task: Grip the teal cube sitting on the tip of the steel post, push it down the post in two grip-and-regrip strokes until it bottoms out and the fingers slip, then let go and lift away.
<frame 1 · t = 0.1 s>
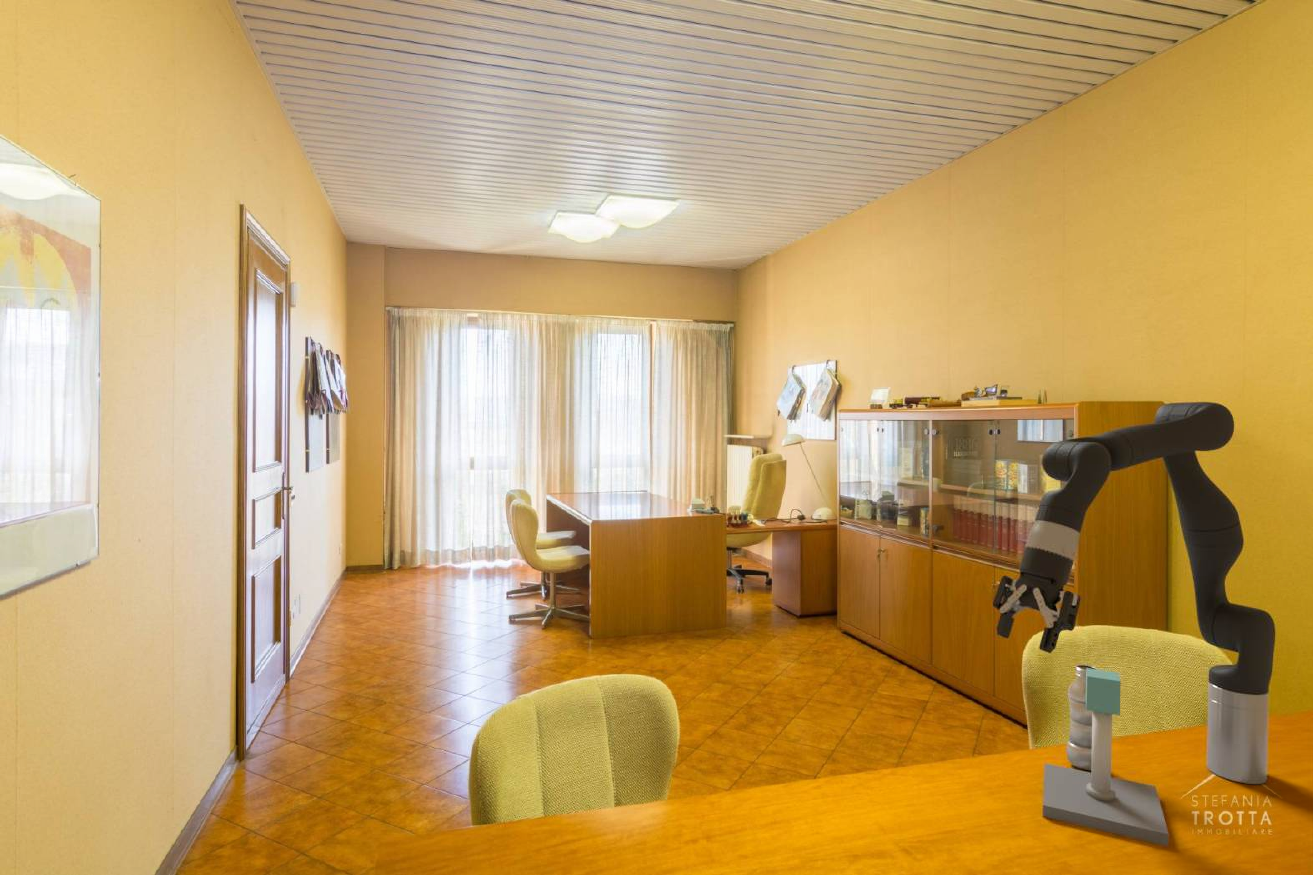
hand: (1022, 643, 121), 31 cm above the table, tool tilted 20°, fingers open, 8 cm apart
teal cube: (1102, 691, 129), point 21 cm above the table, slide at 4.5 cm
post stand: (1100, 806, 129), on the table
plastic bottle: (1084, 767, 144), on the table
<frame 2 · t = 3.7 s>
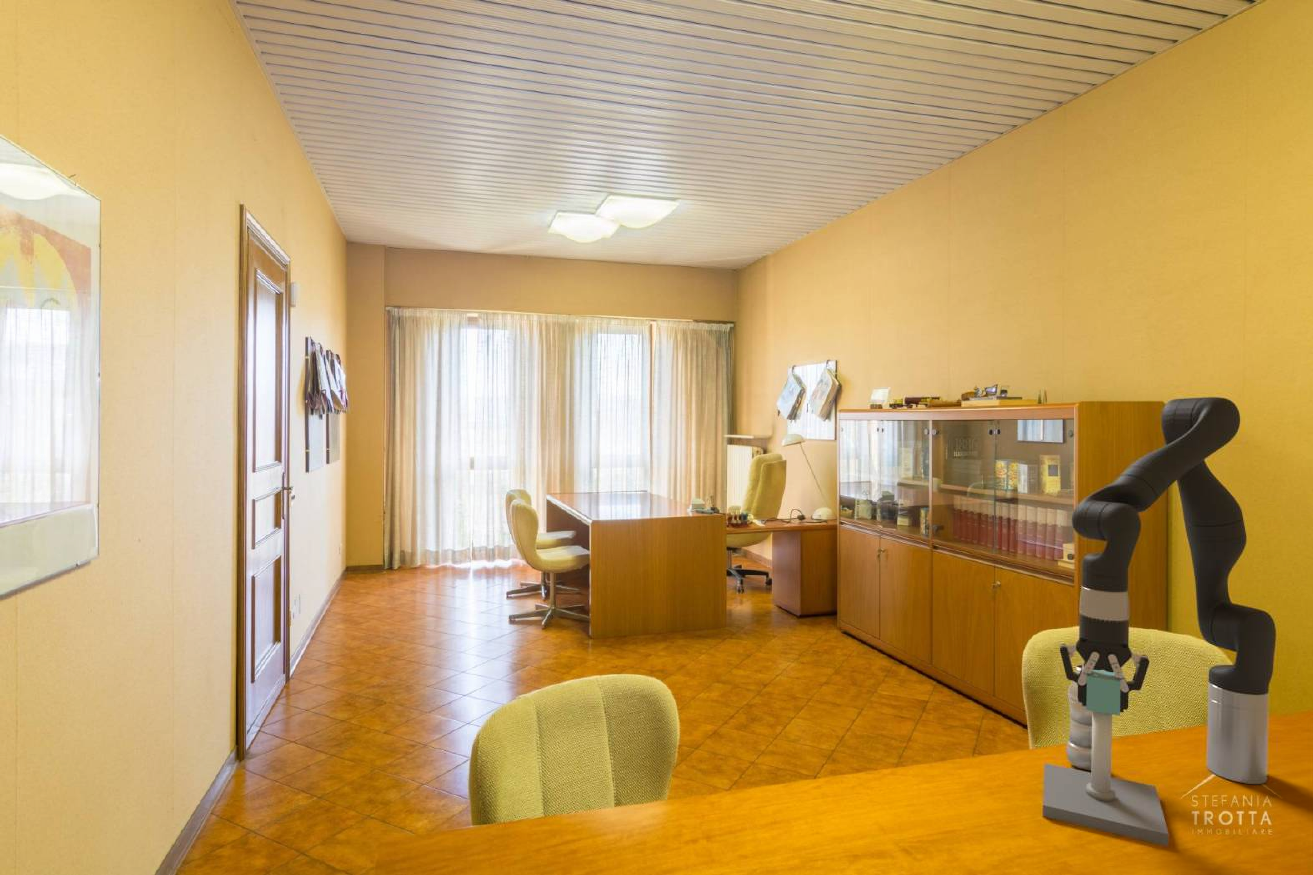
hand: (1102, 707, 129), 18 cm above the table, tool pointing down, fingers closed on teal cube, 5 cm apart
teal cube: (1102, 691, 129), point 21 cm above the table, slide at 4.5 cm, touching gripper
everything else where it was.
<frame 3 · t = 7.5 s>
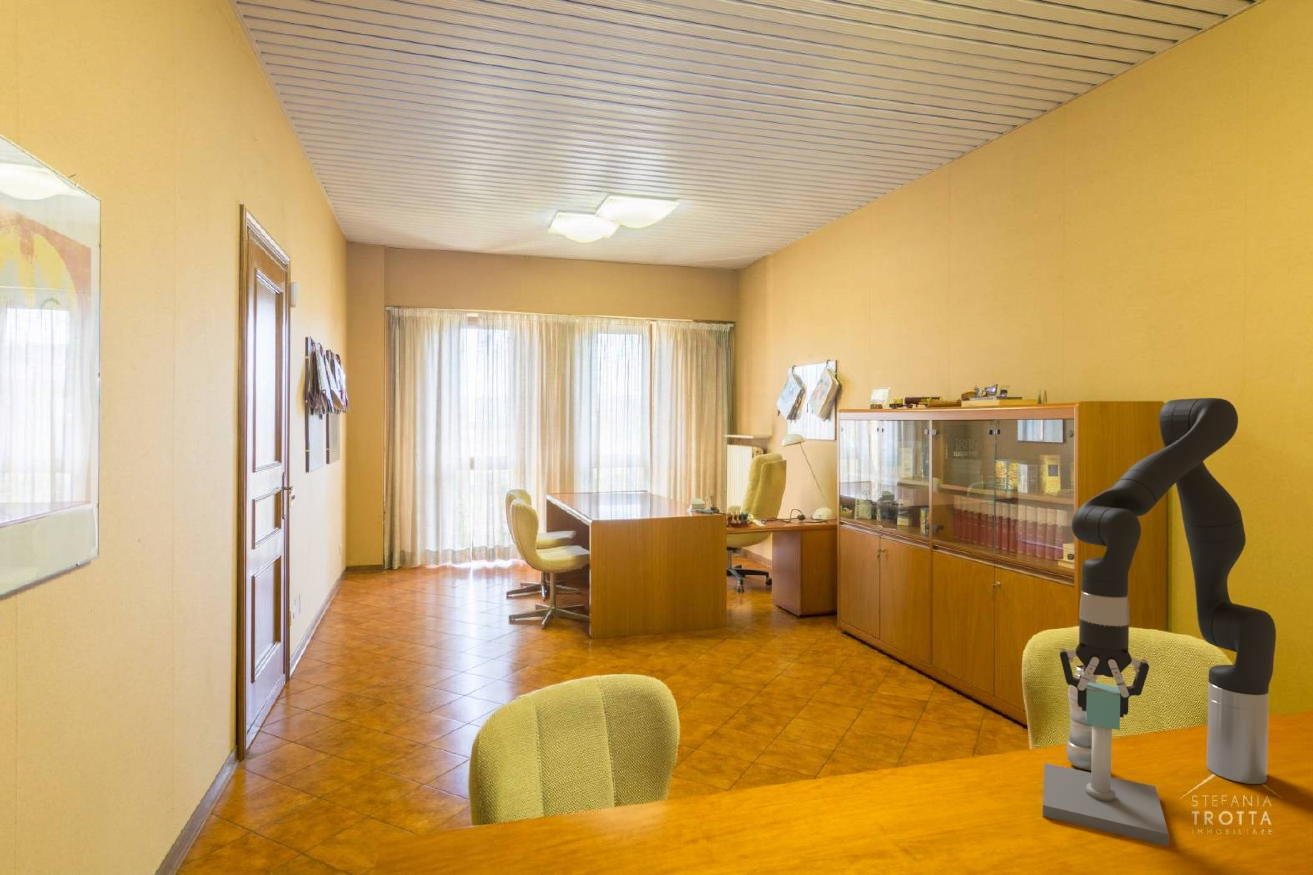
hand: (1102, 712, 129), 17 cm above the table, tool pointing down, fingers closed on teal cube, 5 cm apart
teal cube: (1102, 705, 129), point 18 cm above the table, slide at 1.9 cm, touching gripper
everything else where it was.
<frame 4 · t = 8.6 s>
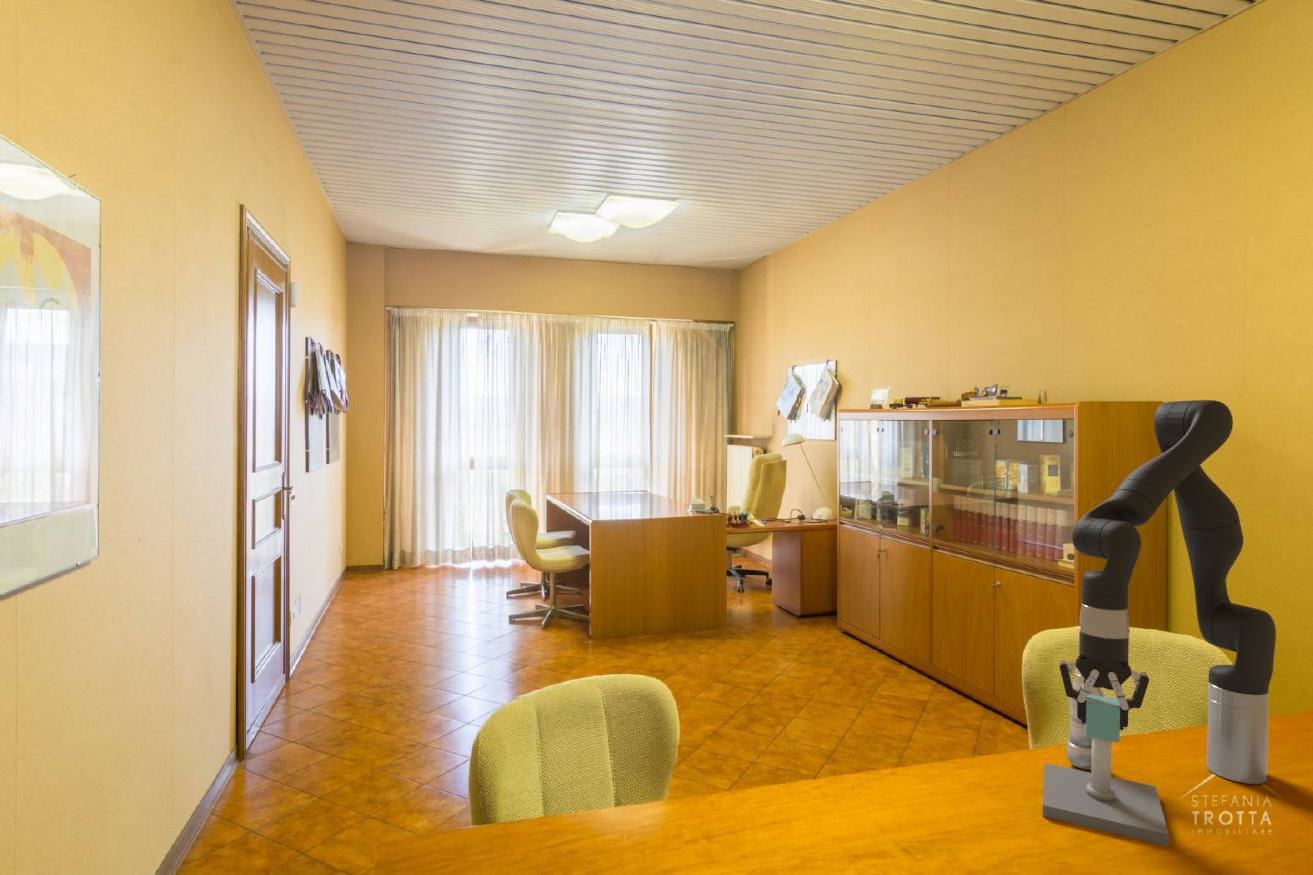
hand: (1101, 724, 129), 15 cm above the table, tool pointing down, fingers closed on teal cube, 5 cm apart
teal cube: (1102, 717, 129), point 16 cm above the table, slide at -0.3 cm, touching gripper
everything else where it was.
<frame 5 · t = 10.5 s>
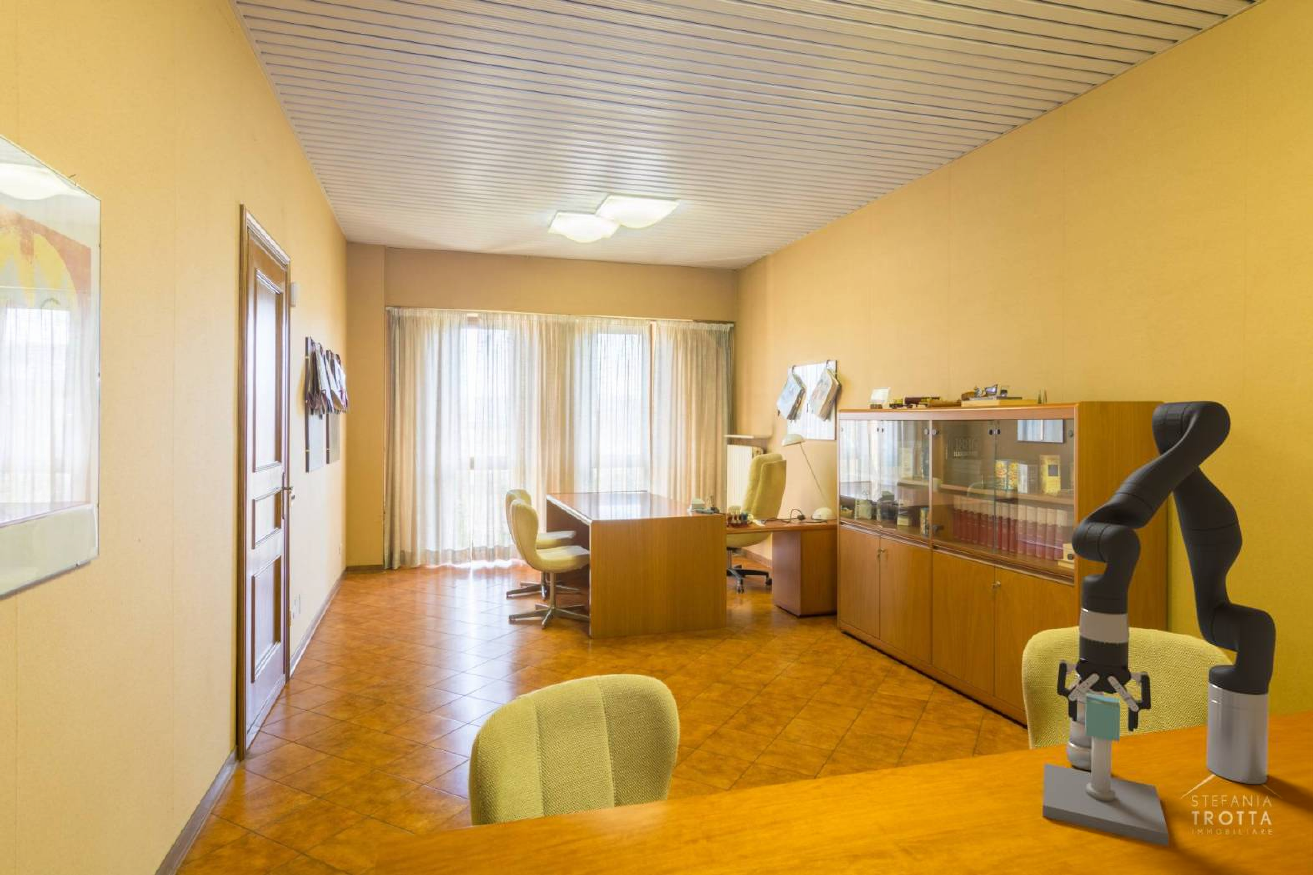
hand: (1101, 724, 129), 15 cm above the table, tool pointing down, fingers open, 8 cm apart
teal cube: (1102, 716, 129), point 16 cm above the table, slide at -0.1 cm
everything else where it was.
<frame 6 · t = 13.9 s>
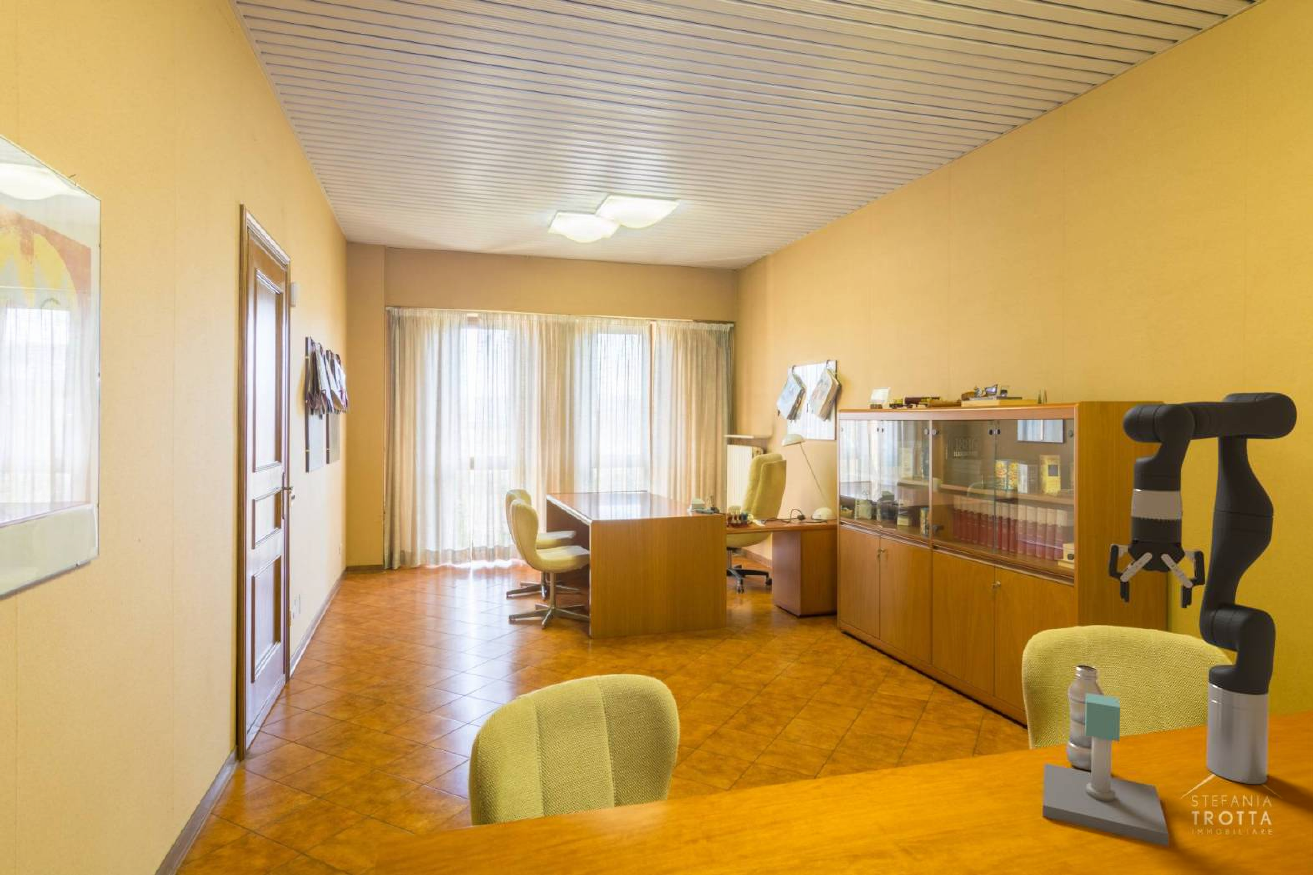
hand: (1154, 604, 130), 36 cm above the table, tool pointing down, fingers open, 8 cm apart
nothing on the table moved.
at the end: teal cube slide at -0.1 cm; plastic bottle moved 0.2 cm from its start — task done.
